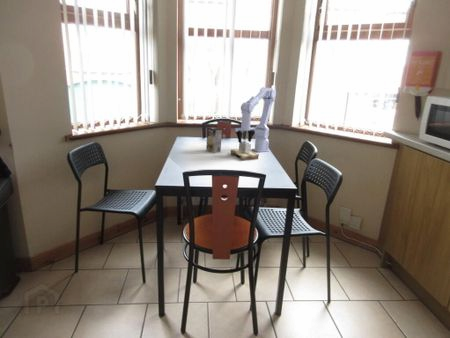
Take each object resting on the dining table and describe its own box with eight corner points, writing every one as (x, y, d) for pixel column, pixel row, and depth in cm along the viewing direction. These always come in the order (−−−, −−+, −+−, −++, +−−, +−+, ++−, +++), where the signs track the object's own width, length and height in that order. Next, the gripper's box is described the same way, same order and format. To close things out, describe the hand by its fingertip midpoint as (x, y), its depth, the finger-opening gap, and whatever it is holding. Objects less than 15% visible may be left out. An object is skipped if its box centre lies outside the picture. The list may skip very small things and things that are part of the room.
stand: (245, 152, 217) (245, 148, 216) (258, 158, 204) (258, 154, 203) (230, 153, 212) (230, 149, 211) (242, 160, 198) (242, 155, 197)
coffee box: (205, 150, 218) (206, 127, 213) (212, 149, 222) (213, 126, 217) (214, 153, 211) (215, 129, 206) (221, 152, 215) (222, 129, 210)
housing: (243, 150, 211) (244, 140, 209) (250, 153, 205) (251, 143, 203) (238, 150, 209) (239, 141, 207) (245, 153, 203) (245, 143, 201)
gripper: (252, 120, 210) (250, 139, 214) (233, 120, 203) (232, 141, 207) (257, 121, 204) (256, 142, 208) (238, 122, 197) (237, 143, 201)
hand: (244, 141), depth 207 cm, fingers open, 7 cm apart
